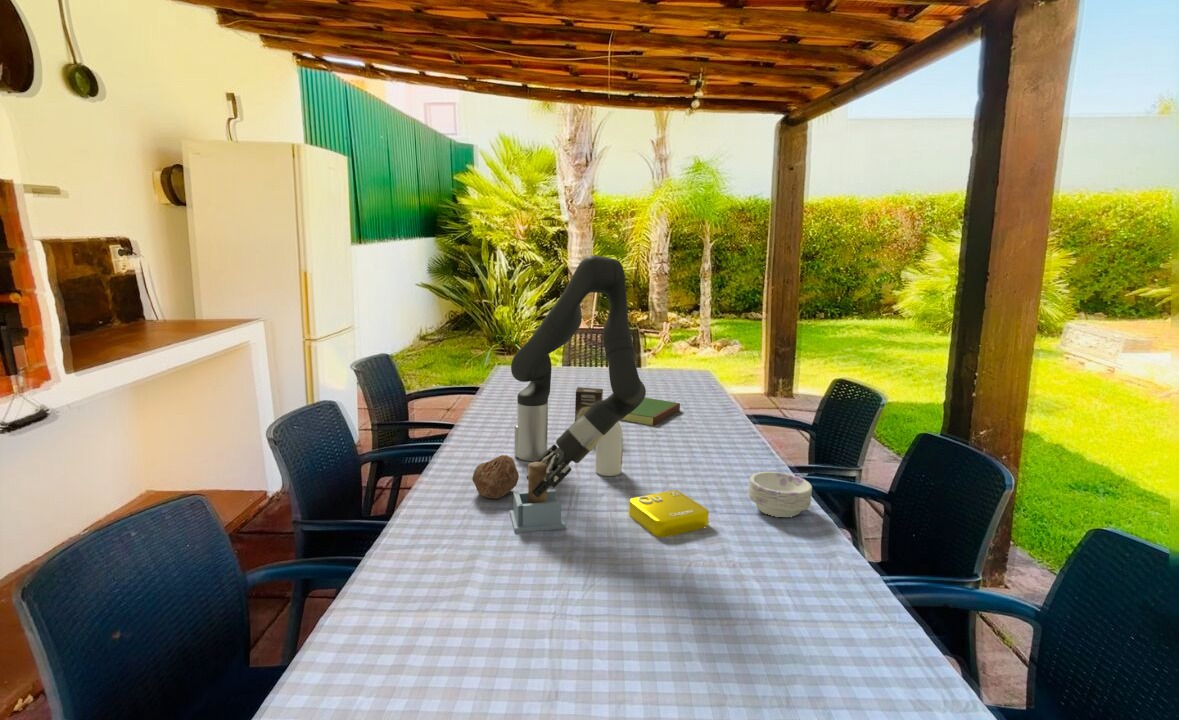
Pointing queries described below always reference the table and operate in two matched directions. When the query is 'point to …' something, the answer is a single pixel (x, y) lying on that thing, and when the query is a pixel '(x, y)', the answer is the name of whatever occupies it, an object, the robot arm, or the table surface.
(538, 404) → the robot arm
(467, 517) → the table surface
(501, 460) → the decorative rock
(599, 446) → the milk bottle
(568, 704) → the table surface
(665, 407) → the hardcover book
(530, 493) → the walnut peg
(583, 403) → the coffee box
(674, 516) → the element tile
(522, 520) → the slate bracket
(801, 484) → the paper bowls
